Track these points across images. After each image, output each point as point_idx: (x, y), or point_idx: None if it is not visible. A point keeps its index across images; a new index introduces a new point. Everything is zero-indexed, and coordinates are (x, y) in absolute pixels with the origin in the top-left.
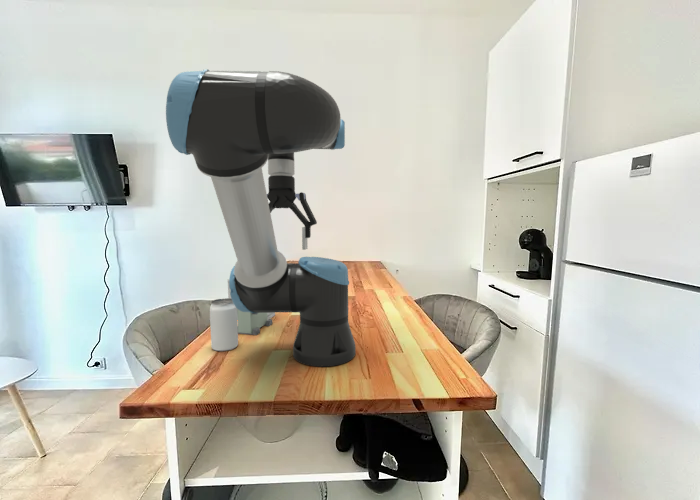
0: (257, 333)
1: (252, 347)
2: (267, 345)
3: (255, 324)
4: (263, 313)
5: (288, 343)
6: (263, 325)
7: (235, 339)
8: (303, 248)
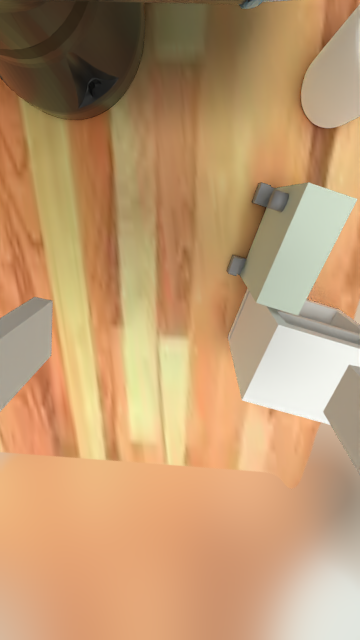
0: (257, 189)
1: (259, 82)
2: (221, 98)
3: (268, 213)
4: (253, 262)
5: (168, 113)
6: None
7: (313, 63)
8: (40, 302)
